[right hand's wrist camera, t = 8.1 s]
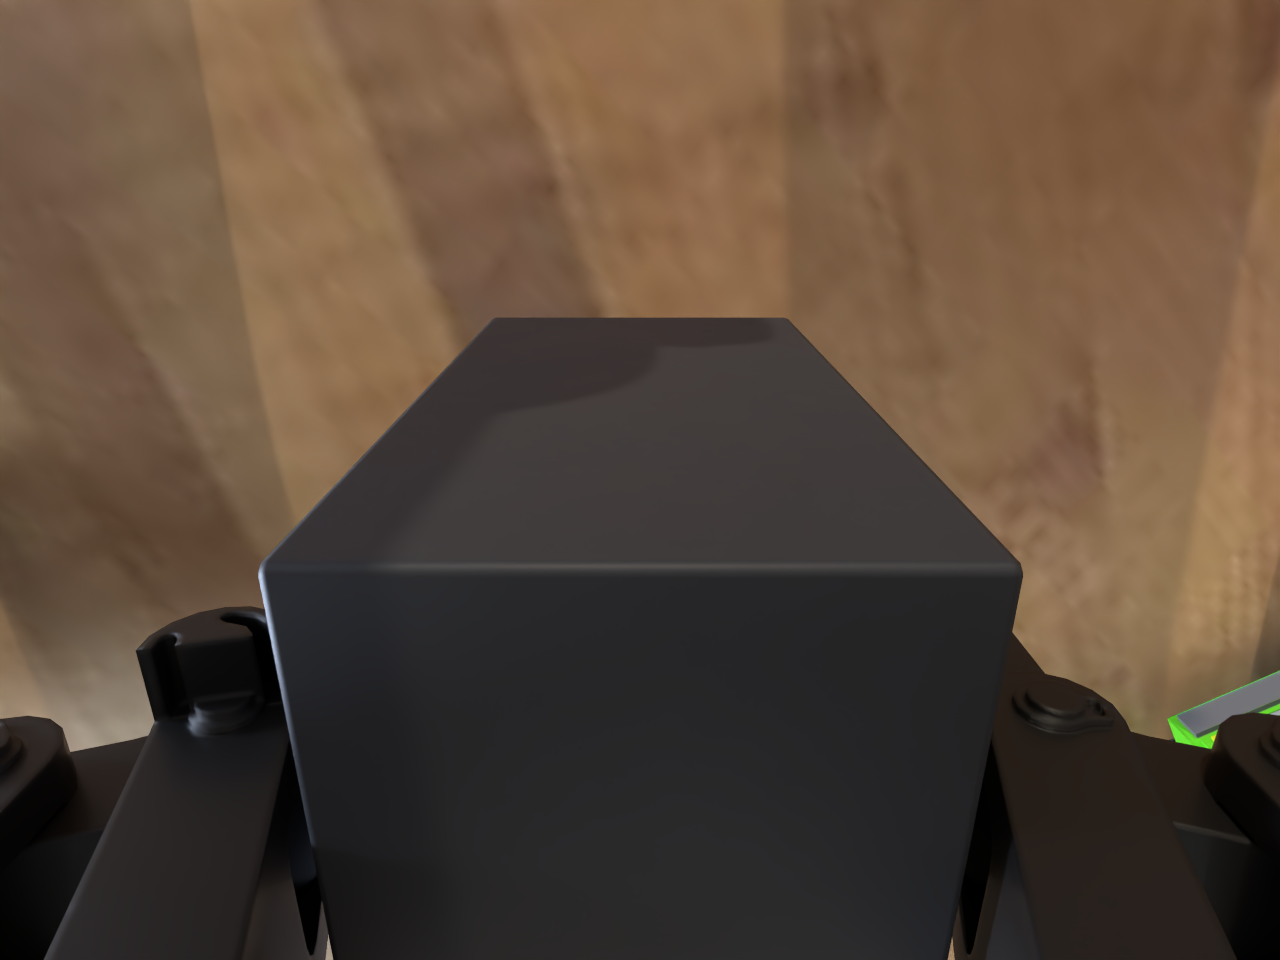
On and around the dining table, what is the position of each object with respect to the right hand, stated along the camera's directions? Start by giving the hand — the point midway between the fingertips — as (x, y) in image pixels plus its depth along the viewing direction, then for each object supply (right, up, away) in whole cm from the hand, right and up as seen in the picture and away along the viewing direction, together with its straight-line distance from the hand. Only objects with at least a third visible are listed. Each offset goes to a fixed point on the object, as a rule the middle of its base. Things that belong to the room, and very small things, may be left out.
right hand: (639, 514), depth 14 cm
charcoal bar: (0, -8, +3) cm, 9 cm away
